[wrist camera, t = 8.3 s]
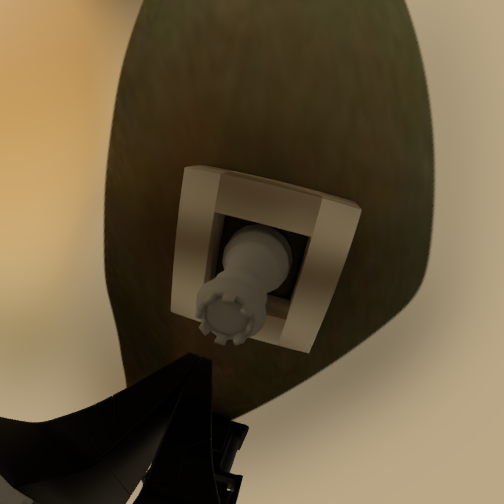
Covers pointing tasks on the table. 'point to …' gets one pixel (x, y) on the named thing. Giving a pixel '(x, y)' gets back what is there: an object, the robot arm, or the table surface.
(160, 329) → the table surface
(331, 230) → the socket collar
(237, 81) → the table surface
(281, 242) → the rook chess piece
